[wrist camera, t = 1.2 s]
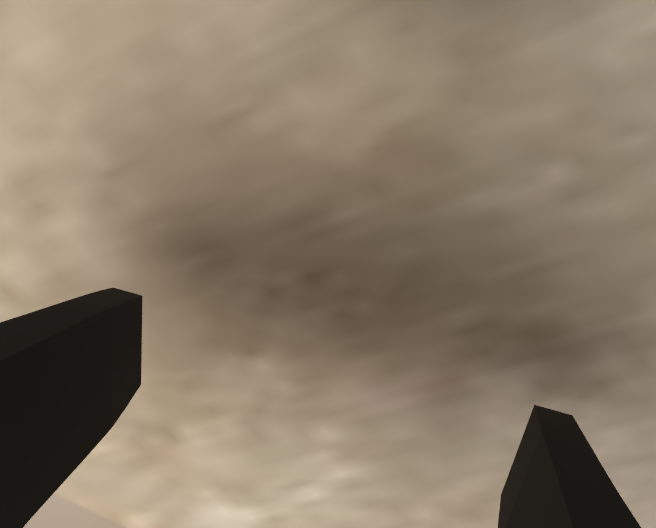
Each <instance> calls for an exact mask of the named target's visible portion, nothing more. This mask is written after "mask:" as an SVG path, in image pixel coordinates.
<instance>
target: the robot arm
mask: <svg viewBox="0 0 656 528" xmlns="http://www.w3.org/2000/svg"><path fill="white" fill-rule="evenodd" d="M141 346H142V296H141V295H137V294H134V293H130V292H127V291H123V290H119V289H116V288H110V289H105V290H101V291H98V292H94V293H91V294H87V295H84V296H81V297H78V298H74V299H71V300H68V301H65V302H62V303H59V304H56V305H53V306H50V307H47V308H44V309H41V310H38V311H35V312H32V313H29V314H26V315H22V316H19V317H16V318H13V319H10V320H7V321H4V322H1V323H0V528H23V527H24V525H25V524H26V523H27V522H28V521H29V520H30V518H31V517H32V516H33V515H34V514H35V513H36V512H37V511H38V510H39V508H40V507H41V506H42V505H43V504H44V503H45V502H46V501H47V500H48V498H49V497H50V496H51V495H52V494H53V493H54V492H55V491H56V490H57V489H58V487H59V486H60V485H61V484H62V483H63V482H64V481H65V480H66V479H67V478H68V476H69V475H70V474H71V473H72V472H73V471H74V470H75V469H76V468H77V466H78V465H79V464H80V463H81V462H82V461H83V460H84V459H85V458H86V456H87V455H88V454H89V453H90V452H91V451H92V450H93V449H94V447H95V446H96V445H97V444H98V443H99V442H100V441H101V440H102V438H103V437H104V436H105V435H106V434H107V433H108V431H109V430H110V429H111V428H112V427H113V425H114V424H115V422H116V421H117V420H118V418H119V417H120V415H121V414H122V412H123V411H124V410H125V408H126V407H127V405H128V404H129V402H130V400H131V399H132V397H133V396H134V394H135V393H136V391H137V390H138V388H139V387H140V385H141ZM498 528H641V527H640V525H639V524H638V522H637V521H636V519H635V518H634V516H633V515H632V513H631V512H630V510H629V509H628V507H627V506H626V504H625V502H624V501H623V499H622V498H621V496H620V495H619V493H618V491H617V490H616V488H615V487H614V485H613V483H612V482H611V480H610V478H609V477H608V475H607V473H606V472H605V470H604V468H603V467H602V465H601V463H600V462H599V460H598V458H597V457H596V455H595V453H594V451H593V450H592V448H591V446H590V445H589V443H588V441H587V440H586V438H585V436H584V434H583V433H582V431H581V429H580V428H579V426H578V424H577V423H576V421H575V419H574V418H573V416H572V415H569V414H565V413H562V412H558V411H554V410H551V409H547V408H544V407H540V406H536V405H534V408H533V410H532V413H531V416H530V418H529V421H528V424H527V426H526V429H525V432H524V435H523V437H522V440H521V443H520V445H519V448H518V451H517V454H516V456H515V459H514V462H513V464H512V467H511V470H510V472H509V475H508V478H507V481H506V483H505V486H504V489H503V491H502V494H501V502H500V512H499V521H498Z"/></svg>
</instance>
